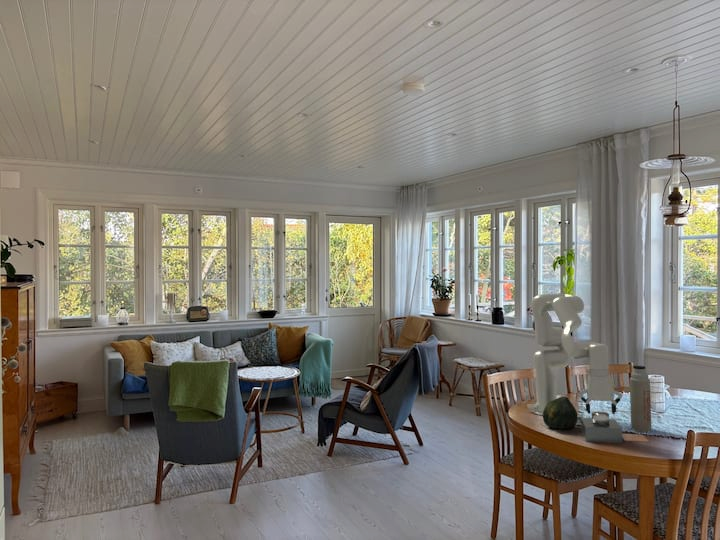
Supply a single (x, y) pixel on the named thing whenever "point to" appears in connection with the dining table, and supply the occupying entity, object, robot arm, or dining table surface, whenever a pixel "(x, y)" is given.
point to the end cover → (600, 418)
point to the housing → (601, 431)
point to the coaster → (634, 437)
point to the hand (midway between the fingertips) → (601, 413)
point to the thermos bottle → (640, 399)
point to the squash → (560, 414)
